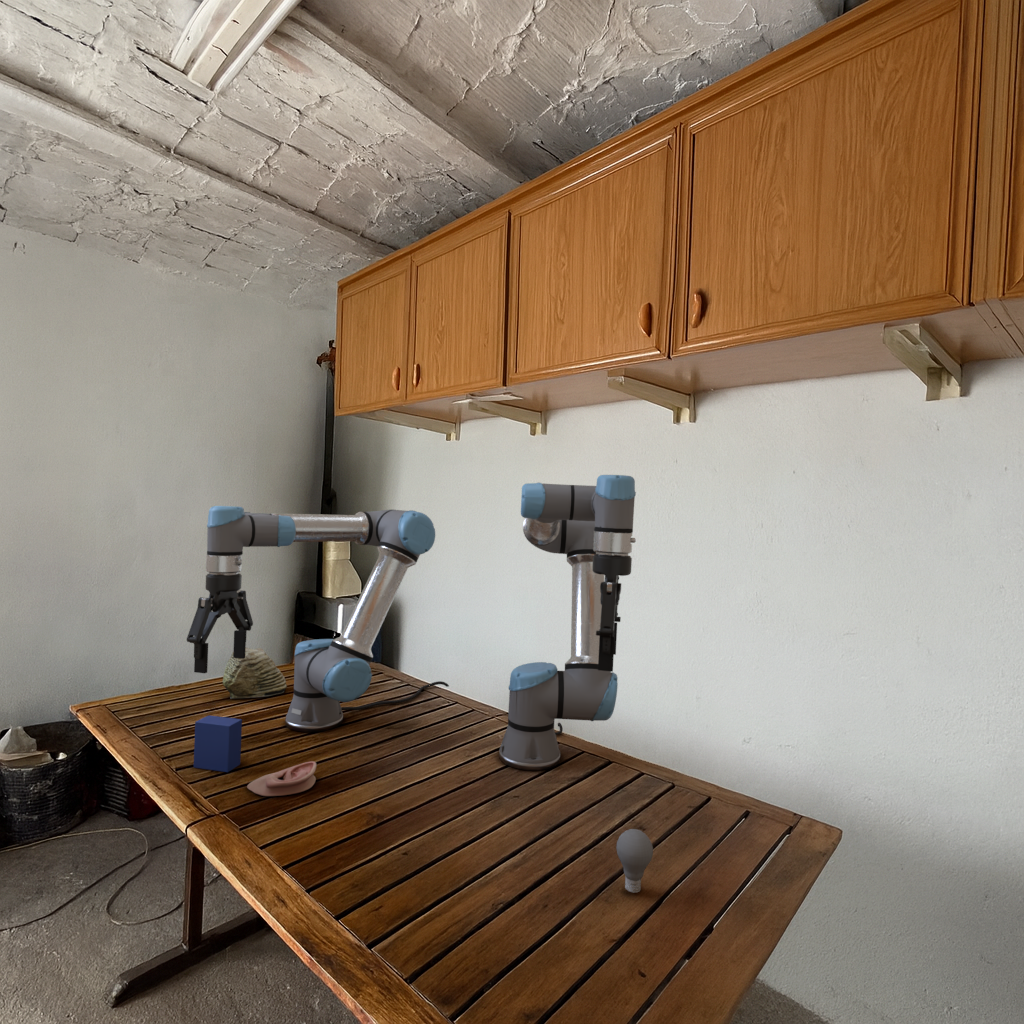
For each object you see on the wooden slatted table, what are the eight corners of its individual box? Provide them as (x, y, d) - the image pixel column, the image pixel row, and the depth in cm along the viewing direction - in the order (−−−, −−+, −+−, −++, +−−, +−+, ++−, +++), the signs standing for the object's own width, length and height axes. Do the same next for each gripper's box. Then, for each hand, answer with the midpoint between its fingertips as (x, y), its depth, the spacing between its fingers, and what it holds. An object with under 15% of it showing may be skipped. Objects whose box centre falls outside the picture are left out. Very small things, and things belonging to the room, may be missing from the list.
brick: (193, 767, 145) (195, 721, 145) (207, 759, 150) (208, 715, 149) (227, 772, 143) (229, 726, 143) (240, 764, 148) (242, 719, 148)
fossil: (218, 695, 195) (220, 647, 195) (278, 685, 208) (279, 640, 207) (228, 703, 189) (230, 653, 188) (289, 692, 201) (290, 645, 201)
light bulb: (610, 879, 108) (613, 822, 108) (644, 879, 109) (647, 822, 109) (619, 902, 102) (622, 840, 102) (655, 901, 103) (658, 840, 103)
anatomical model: (239, 773, 134) (270, 753, 145) (238, 792, 134) (269, 770, 145) (296, 782, 131) (323, 760, 142) (295, 801, 131) (323, 777, 142)
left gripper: (201, 580, 133) (198, 681, 133) (270, 568, 157) (266, 653, 157) (170, 578, 134) (166, 677, 134) (243, 566, 159) (239, 651, 159)
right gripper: (630, 560, 111) (625, 680, 111) (632, 550, 135) (628, 649, 136) (587, 557, 112) (582, 676, 113) (597, 548, 137) (592, 646, 137)
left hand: (220, 665), depth 146 cm, fingers open, 13 cm apart
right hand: (607, 661), depth 124 cm, fingers open, 13 cm apart
